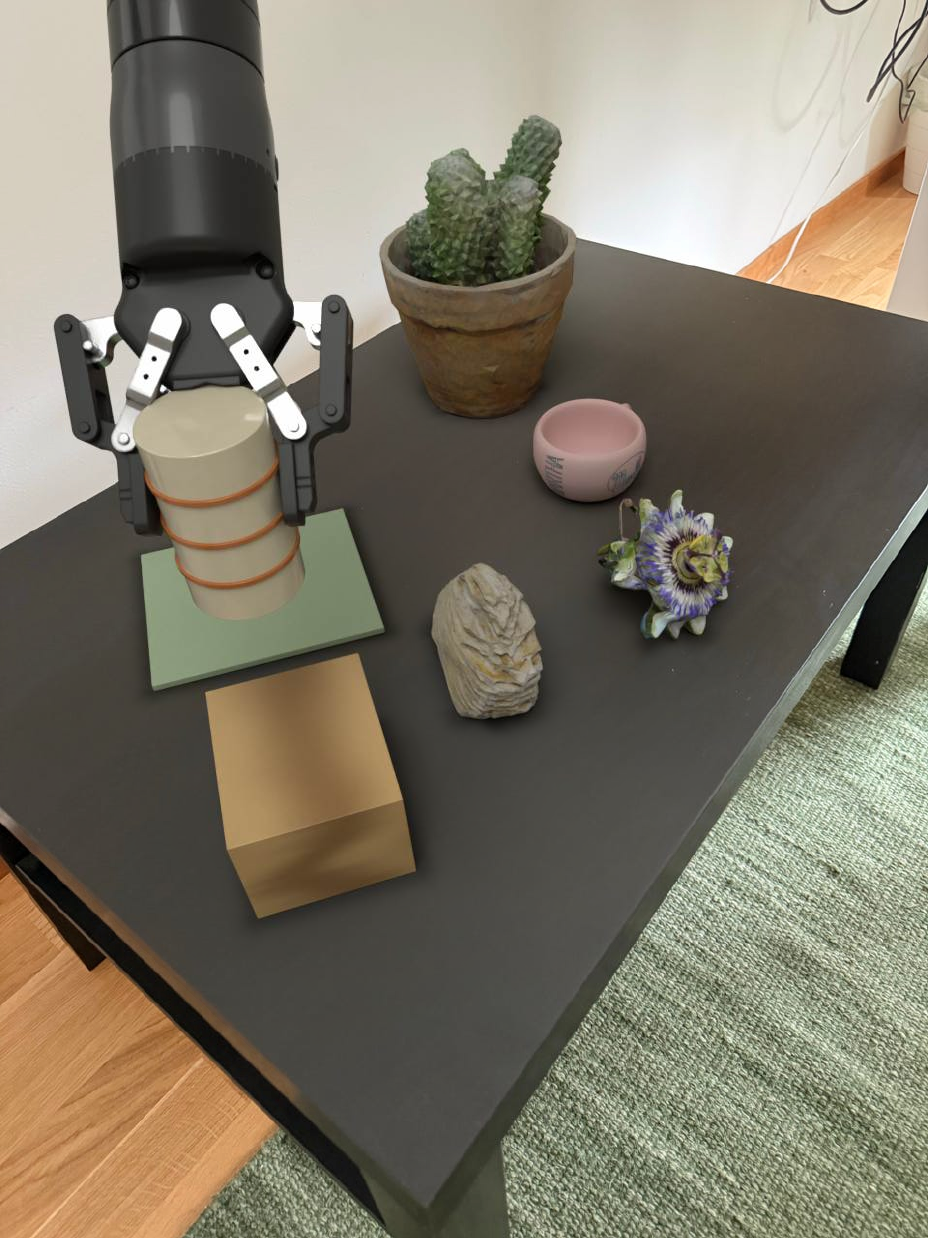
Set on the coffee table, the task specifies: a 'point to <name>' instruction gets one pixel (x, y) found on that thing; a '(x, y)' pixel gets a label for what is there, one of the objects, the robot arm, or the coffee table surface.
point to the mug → (589, 448)
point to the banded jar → (221, 499)
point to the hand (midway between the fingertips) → (222, 529)
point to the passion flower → (671, 565)
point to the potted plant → (483, 276)
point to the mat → (310, 621)
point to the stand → (307, 786)
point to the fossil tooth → (487, 644)
